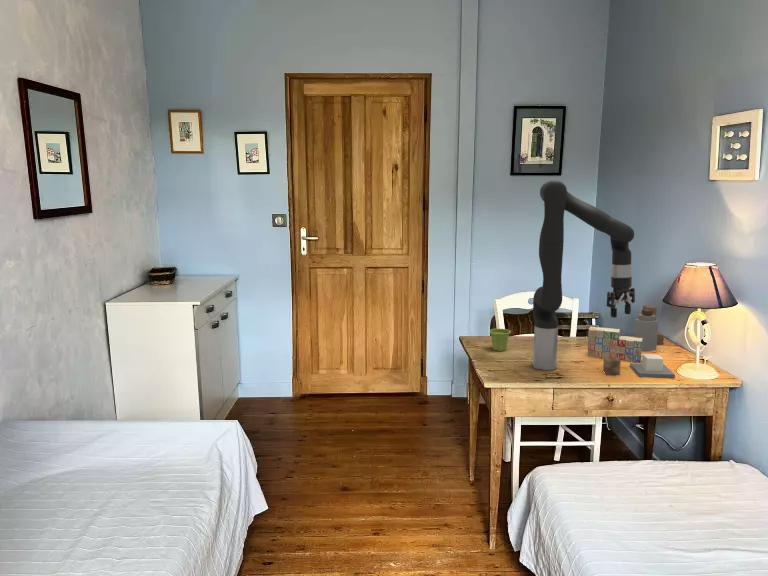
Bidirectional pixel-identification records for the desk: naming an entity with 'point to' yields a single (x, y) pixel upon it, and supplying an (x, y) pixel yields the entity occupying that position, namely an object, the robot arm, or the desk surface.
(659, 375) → the base plate
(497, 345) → the plant pot
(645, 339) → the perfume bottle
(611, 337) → the stack of blocks
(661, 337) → the wooden block
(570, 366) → the desk surface
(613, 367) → the walnut block
